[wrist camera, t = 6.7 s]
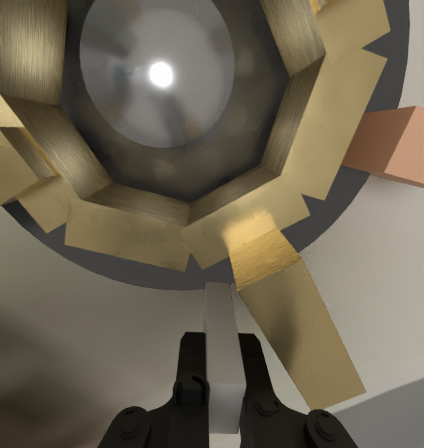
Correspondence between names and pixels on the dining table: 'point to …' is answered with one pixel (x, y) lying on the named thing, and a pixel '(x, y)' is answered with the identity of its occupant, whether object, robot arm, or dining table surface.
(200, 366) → the robot arm
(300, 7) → the gold octagonal ring
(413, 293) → the dining table surface
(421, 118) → the block
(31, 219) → the plate
